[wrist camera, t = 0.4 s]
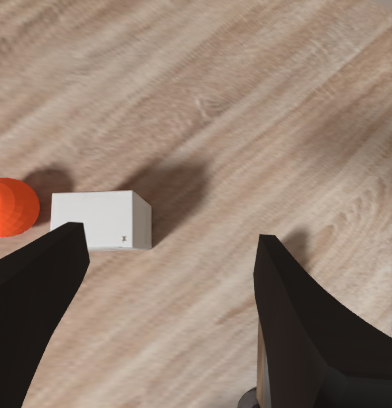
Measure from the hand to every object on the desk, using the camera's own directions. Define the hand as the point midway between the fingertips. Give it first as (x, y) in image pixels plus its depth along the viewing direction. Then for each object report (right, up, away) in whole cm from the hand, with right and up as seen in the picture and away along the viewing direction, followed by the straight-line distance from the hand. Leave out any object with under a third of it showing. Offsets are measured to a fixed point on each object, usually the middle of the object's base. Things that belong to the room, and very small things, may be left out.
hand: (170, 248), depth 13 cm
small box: (-9, -1, +26) cm, 28 cm away
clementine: (-21, 0, +27) cm, 34 cm away
